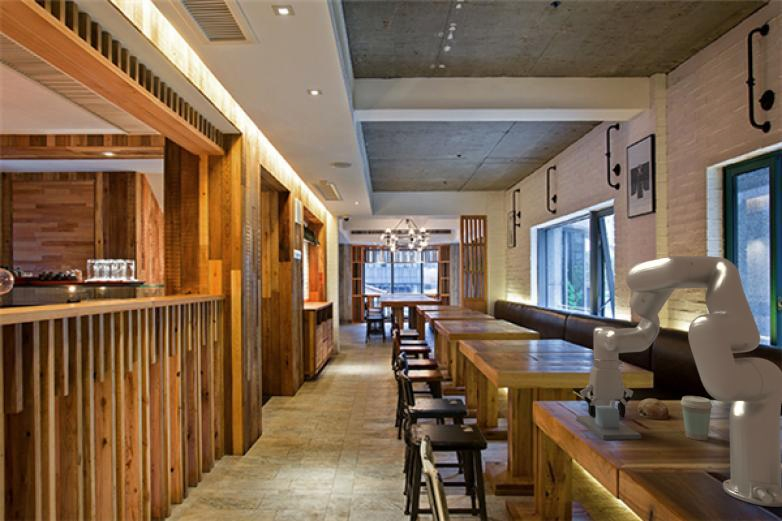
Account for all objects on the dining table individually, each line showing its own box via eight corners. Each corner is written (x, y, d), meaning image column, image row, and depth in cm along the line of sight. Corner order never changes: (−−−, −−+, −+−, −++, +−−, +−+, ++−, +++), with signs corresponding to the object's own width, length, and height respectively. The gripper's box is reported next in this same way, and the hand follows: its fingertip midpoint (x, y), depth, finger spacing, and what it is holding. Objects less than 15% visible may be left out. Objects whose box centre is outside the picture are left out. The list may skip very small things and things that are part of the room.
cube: (619, 427, 161) (619, 410, 161) (602, 427, 160) (602, 410, 160) (610, 422, 166) (610, 405, 166) (594, 422, 166) (594, 405, 166)
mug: (623, 417, 177) (623, 389, 177) (605, 420, 173) (605, 391, 174) (599, 409, 187) (599, 382, 187) (581, 411, 184) (581, 384, 184)
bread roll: (635, 423, 182) (628, 404, 181) (652, 408, 186) (645, 389, 185) (660, 430, 173) (653, 411, 172) (677, 414, 177) (670, 395, 176)
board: (641, 439, 153) (641, 434, 154) (603, 439, 153) (603, 434, 153) (610, 420, 173) (610, 415, 174) (576, 420, 173) (576, 416, 173)
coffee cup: (718, 442, 150) (717, 403, 151) (687, 440, 152) (686, 401, 152) (706, 433, 159) (705, 396, 159) (676, 432, 160) (676, 394, 161)
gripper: (625, 362, 168) (626, 413, 167) (575, 362, 167) (576, 413, 167) (637, 366, 160) (638, 419, 160) (585, 366, 160) (586, 420, 159)
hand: (606, 416), depth 163 cm, fingers open, 9 cm apart
